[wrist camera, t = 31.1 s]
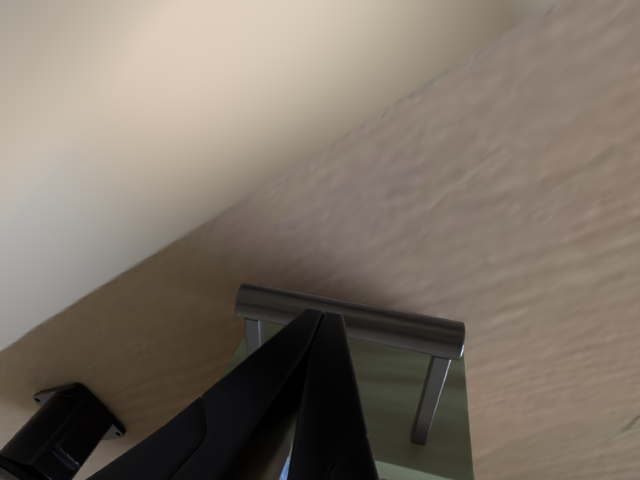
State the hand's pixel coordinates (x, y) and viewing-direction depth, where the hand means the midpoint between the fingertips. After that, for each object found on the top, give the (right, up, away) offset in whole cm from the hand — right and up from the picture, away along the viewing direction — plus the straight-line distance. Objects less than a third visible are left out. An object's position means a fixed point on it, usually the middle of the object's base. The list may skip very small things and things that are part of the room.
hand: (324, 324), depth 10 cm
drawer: (+2, -5, +14) cm, 15 cm away
